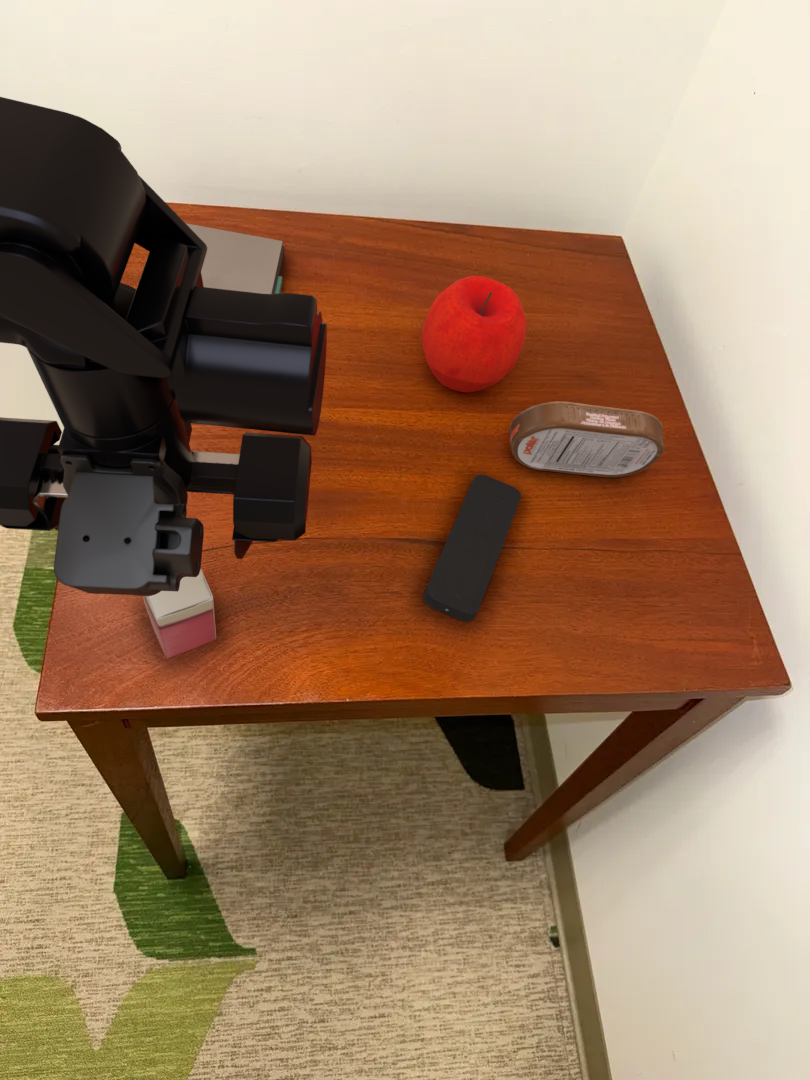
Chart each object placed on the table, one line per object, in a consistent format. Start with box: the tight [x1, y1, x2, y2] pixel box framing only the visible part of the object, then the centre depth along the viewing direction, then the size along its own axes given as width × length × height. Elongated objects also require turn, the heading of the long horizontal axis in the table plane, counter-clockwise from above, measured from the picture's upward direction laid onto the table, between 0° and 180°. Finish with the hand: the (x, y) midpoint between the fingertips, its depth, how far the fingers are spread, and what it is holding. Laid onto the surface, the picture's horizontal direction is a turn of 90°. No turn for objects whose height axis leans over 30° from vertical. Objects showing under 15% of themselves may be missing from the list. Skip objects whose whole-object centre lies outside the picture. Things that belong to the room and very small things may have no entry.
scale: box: [185, 222, 285, 294], centre depth 79 cm, size 11×14×3 cm
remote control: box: [422, 474, 522, 623], centre depth 70 cm, size 5×2×15 cm
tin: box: [508, 400, 665, 479], centre depth 73 cm, size 15×3×8 cm, turn 90°
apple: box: [421, 275, 528, 393], centre depth 75 cm, size 10×10×12 cm
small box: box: [142, 568, 217, 659], centre depth 58 cm, size 5×4×8 cm
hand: (170, 549), depth 51 cm, fingers open, 9 cm apart
